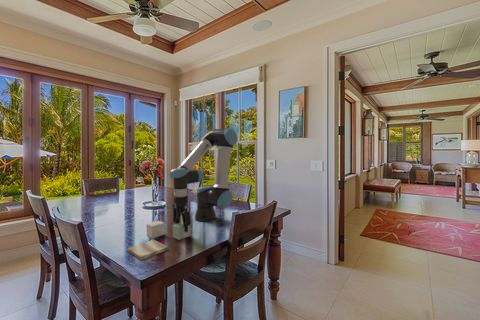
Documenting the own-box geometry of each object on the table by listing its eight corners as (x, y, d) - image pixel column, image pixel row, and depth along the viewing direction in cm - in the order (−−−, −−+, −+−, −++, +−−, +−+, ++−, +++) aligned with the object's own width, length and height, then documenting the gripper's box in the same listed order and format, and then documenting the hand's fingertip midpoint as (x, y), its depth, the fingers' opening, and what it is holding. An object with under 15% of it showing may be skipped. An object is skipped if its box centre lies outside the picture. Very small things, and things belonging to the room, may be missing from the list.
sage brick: (184, 233, 137) (184, 221, 137) (190, 235, 133) (190, 223, 133) (172, 237, 131) (172, 225, 131) (178, 240, 127) (178, 227, 127)
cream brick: (159, 232, 140) (159, 220, 140) (164, 234, 136) (164, 222, 136) (146, 235, 134) (146, 224, 134) (152, 238, 130) (151, 226, 130)
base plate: (154, 242, 125) (154, 239, 125) (168, 249, 116) (168, 246, 115) (127, 251, 114) (127, 248, 114) (140, 260, 105) (140, 256, 105)
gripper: (165, 194, 134) (166, 233, 136) (185, 199, 122) (186, 242, 123) (176, 192, 140) (178, 229, 141) (196, 196, 127) (197, 237, 129)
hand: (181, 235), depth 132 cm, fingers closed on sage brick, 6 cm apart
